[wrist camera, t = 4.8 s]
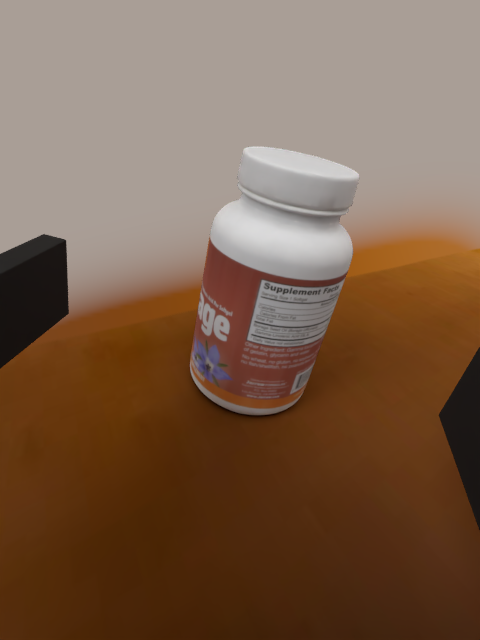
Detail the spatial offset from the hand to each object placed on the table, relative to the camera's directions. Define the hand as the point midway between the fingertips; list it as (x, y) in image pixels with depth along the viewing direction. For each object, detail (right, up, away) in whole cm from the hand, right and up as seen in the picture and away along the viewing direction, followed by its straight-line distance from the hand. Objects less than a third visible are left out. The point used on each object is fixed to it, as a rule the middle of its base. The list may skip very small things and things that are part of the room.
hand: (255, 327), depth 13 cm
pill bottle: (0, -3, +9) cm, 9 cm away
